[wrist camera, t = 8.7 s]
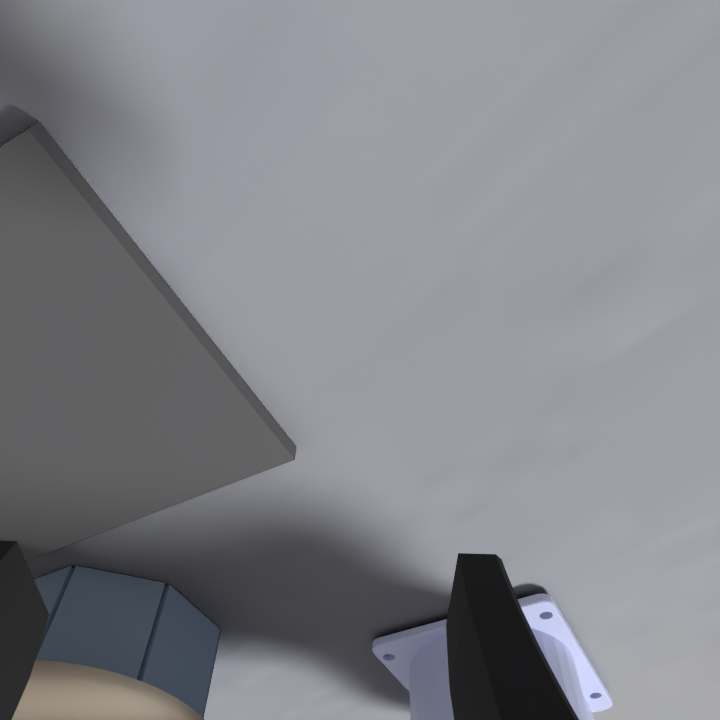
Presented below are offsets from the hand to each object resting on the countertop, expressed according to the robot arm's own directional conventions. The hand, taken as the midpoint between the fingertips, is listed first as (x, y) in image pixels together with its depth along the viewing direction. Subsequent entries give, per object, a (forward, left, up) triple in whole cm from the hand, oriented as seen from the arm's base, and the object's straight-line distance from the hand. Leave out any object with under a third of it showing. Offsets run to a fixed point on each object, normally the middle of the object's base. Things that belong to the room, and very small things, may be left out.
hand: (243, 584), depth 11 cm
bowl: (-11, +16, -9) cm, 22 cm away
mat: (+1, +9, -9) cm, 13 cm away
